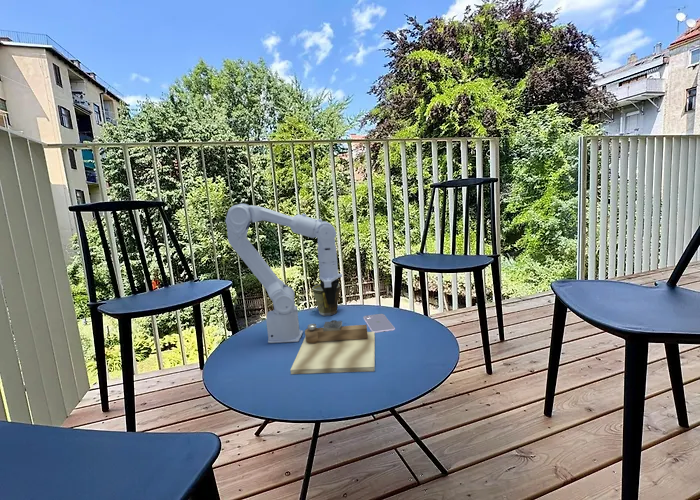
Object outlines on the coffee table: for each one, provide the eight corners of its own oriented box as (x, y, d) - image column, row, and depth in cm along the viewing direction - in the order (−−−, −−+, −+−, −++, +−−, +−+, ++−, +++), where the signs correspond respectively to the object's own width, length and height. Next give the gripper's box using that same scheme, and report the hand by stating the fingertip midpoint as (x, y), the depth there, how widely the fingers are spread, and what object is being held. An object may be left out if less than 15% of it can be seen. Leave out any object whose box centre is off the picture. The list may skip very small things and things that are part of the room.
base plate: (290, 374, 93) (290, 369, 93) (306, 338, 115) (306, 334, 114) (374, 371, 91) (374, 366, 91) (374, 335, 113) (374, 331, 113)
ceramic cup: (316, 308, 141) (314, 283, 140) (342, 307, 141) (340, 281, 139) (312, 321, 129) (309, 293, 127) (340, 319, 128) (338, 291, 126)
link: (304, 343, 107) (304, 333, 106) (306, 337, 111) (305, 327, 111) (367, 339, 107) (367, 329, 106) (367, 333, 111) (366, 323, 111)
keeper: (307, 343, 107) (306, 328, 106) (311, 335, 113) (310, 320, 113) (341, 342, 107) (340, 326, 106) (343, 333, 113) (342, 318, 112)
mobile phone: (372, 331, 114) (362, 315, 129) (372, 334, 115) (362, 318, 129) (396, 328, 116) (383, 312, 130) (396, 331, 116) (383, 315, 130)
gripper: (339, 265, 107) (343, 310, 109) (341, 255, 121) (344, 295, 123) (315, 267, 107) (319, 312, 109) (320, 257, 121) (323, 297, 123)
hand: (331, 303), depth 116 cm, fingers closed
